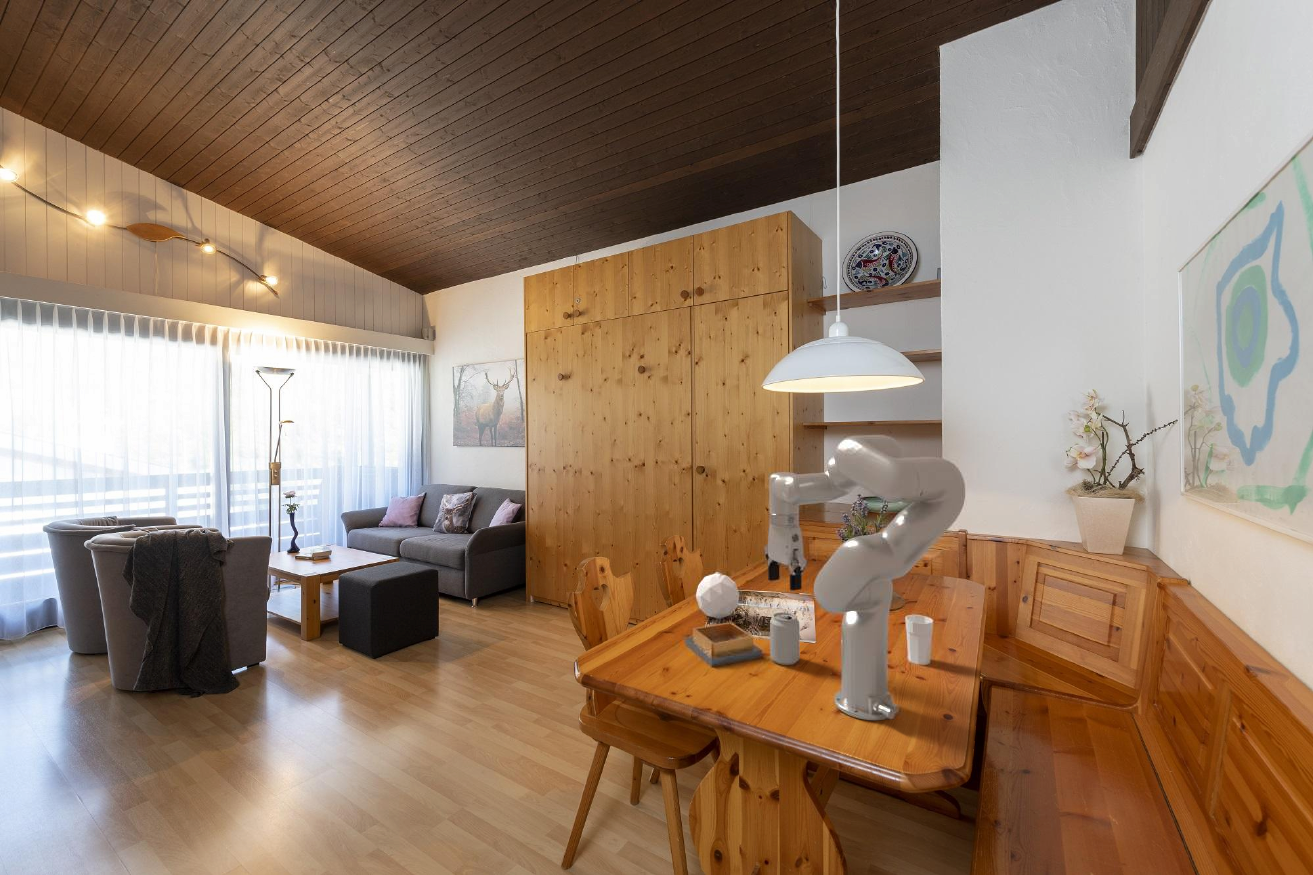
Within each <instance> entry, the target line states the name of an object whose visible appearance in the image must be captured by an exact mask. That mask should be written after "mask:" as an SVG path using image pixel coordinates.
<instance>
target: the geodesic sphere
mask: <svg viewBox="0 0 1313 875" xmlns="http://www.w3.org/2000/svg"><path fill="white" fill-rule="evenodd" d="M739 598H740V591H739V590H738V586H737V583H736V582H735V581H734V580H732V578H730V577H729V576H728V575H725V574H722V572H718V571H715V573H713V574H712V573H711V574H709V575H707V576H704V577H703V579H702V580H701V581H700V583H699V584H698V586H697V589H696V593H695V599H696V602H697V604H698V605H697V606H698V607H699V610H701V611H702V613H704V614H705V615H706V616H707V617H711V618H715V619H718V620H720V619H721V620H722V619H723V618H726V617H728V616H731V615H732V614H733V613H734V612H735V610H736V609H737V608H738V606H739V600H740V599H739Z"/></svg>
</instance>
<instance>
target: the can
mask: <svg viewBox="0 0 1313 875" xmlns="http://www.w3.org/2000/svg"><path fill="white" fill-rule="evenodd" d="M769 645H770V646H769V652H770V654H769V657H770V659H772V660H773V662H774V663H776V664H779V665H781V666H792V665H795V664H796V663H797V662H798V661H799V660H800V621H799V620H798V617H797V615H796V614H794V613H791V612H785V611H780V612H774V613H773V614H772V618H770V621H769Z"/></svg>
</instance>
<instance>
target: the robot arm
mask: <svg viewBox="0 0 1313 875" xmlns="http://www.w3.org/2000/svg"><path fill="white" fill-rule="evenodd" d="M826 468H827V470H826V471H823V472H818V473H817V472H814V473H812V472H811V473H802V474H801V473H799V474H797V473H795V472H787V471H783V472H780V471H779V472H773V473H772V474H770V476H769V479H768V482H769V487H768V489H769V496H768V497H769V498H768V499H769V506H768V507H769V526H768V536H767V544H766V545H764V546H763V549H764V554H765V558H766V564H767V566H768V567H767V569H768V570H767V575H768V576H767V577H768V578H767V579H768V581H770V582H773V581H778V580H780V564H781V565H784V566H786V567H788V570H789V572H790V573H791V574H789V590H790V591H799V590H802V575H803V574H804V571H805V568H806V565H807V561H808V560H807V559H806V558H805V557H804V542H803V535H802V529H801V527H800V514H799V513H800V512H799V511H800V506H802V505H810V504H821V503H829V502H832V501H834V500H837V499H840V498H843V497H845V496H848V495H849V494H851V493H852V492H853V491H854V490H855V488H857V487H859V486H860V487H861V488H863V489H865V490H866V491H867V492H869V493H871V494H873V495H874V496H876V497H877V498H879V499H882V500H883V501H885V502H888V503H893V504H908V503H910V504H909V505H908V506H906V507H905V508H903V509H902V510H901V511H900V512H898V513H897V514H896V515H895V517H894V518H893V519H892V520H891V521H890V522H889V523H888V525H887V526H886V527H885V528H884V529H882V530H881V531H879V532H876V533H873V534H866V535H865V534H864V535H859V536H854V537H852V538H849V539H848V540H846V541H844V542H843V543H842V544H841V545H840V546H838V548H837V549H836V550H835V552H833V554H832V555H831V557H830V558H829V559H828V561H826V563H825V564H824V565H823V567H822V568H821V569H820V571H819V572H818V573H817V575H816V577H815V580H814V583H813V594H814V595H813V597H814V598H815V601H816V603H817V604H818V606H819V607H820V608H821V609H822V610H823V611H825V612H826V613H829V614H832V615H840V614H841V615H842V614H843V616H842V621H841V622H842V623H841V689H840V690H839V691H837V692H836V693H835V694H834V697H833V699H834V700H833V703H834V705H835V706H836V708H838V710H839V711H841V712H843V713H844V714H846V715H848V716H850V717H854V718H855V719H860V720H866V721H882V720H886V719H890V720H892V719H894V718H895V717H896V716H895V715H896V713H898V712H900V707H899V706H898V705H897V704H895V702H894V701H893V700H892V693H891V692H889V691H888V639H889V638H888V637H889V635H888V634H889V616H890V609H891V604H892V599H893V594H894V593H893V592H894V588H893V587H894V586H893V584H894V583H893V581H892V580H896V579H900V578H902V577H904V576H905V575H906V574H907V573H909V571H910V570H911V569H912V568H913V567H914V566H915V565H916V564H917V563H918V562H919V560H921V558H922V557H923V556H924V555H925V554H926V553H927V552H928V551H929V550H930V549H931V547H932V546H933V545H934V544H935V543H936V542H937V541H938V540H939V539H940V538H941V537H942V536H943V535H944V534H945V533H946V531H948V530H949V529H950V528H951V527H952V525H953V524H954V523H955V522H956V521H957V518H959V516H960V514H961V512H962V509H963V508H964V504H965V501H966V500H965V499H966V484H965V480H964V476H963V474H962V472H961V470H960V469H959V467H958V466H957V465H956V464H954V463H953V462H951V461H949V460H947V459H945V458H941V457H937V456H917V457H904V450H903V447H902V445H901V444H900V443H899V442H898V441H897V439H895V438H894V437H891V436H889V435H884V434H869V435H868V434H867V435H866V434H865V435H864V434H863V435H851V436H847V437H845V438H844V439H842V440H841V441H840V442H839V443H838V444H837V446H836V447H835V449H834V454H833V455H832V456H831V457H830V458H829V460H828V462H827V466H826ZM778 563H779V564H778Z"/></svg>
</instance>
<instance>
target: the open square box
mask: <svg viewBox="0 0 1313 875" xmlns="http://www.w3.org/2000/svg"><path fill="white" fill-rule="evenodd" d="M684 642H685V646H687V647H688V648H689V649H690V650H691V651H692V652H694V653H695V655H696V656H698V657H699V658H700V659H702V660H703V661H704V662H705V663H706V664H708V665H709V666H710V667H711V668H714V667H715V668H716V667H719V666H723V665H729V664H735V663H740V662H744V661H750V660H754V659H755V660H756V659H760V658H762V657H763V651H762V649H761V648H760V647H758V646H757V645H755V644H754V637H753V635H751V633H749V632H747V631H745V629H742V628H741V627H740V626H738V625H736V624H735V623H733V622H723V623H718V624H711V625H705V626H700V627H693V629H692V635H691V636H686V637H685V641H684Z"/></svg>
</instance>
